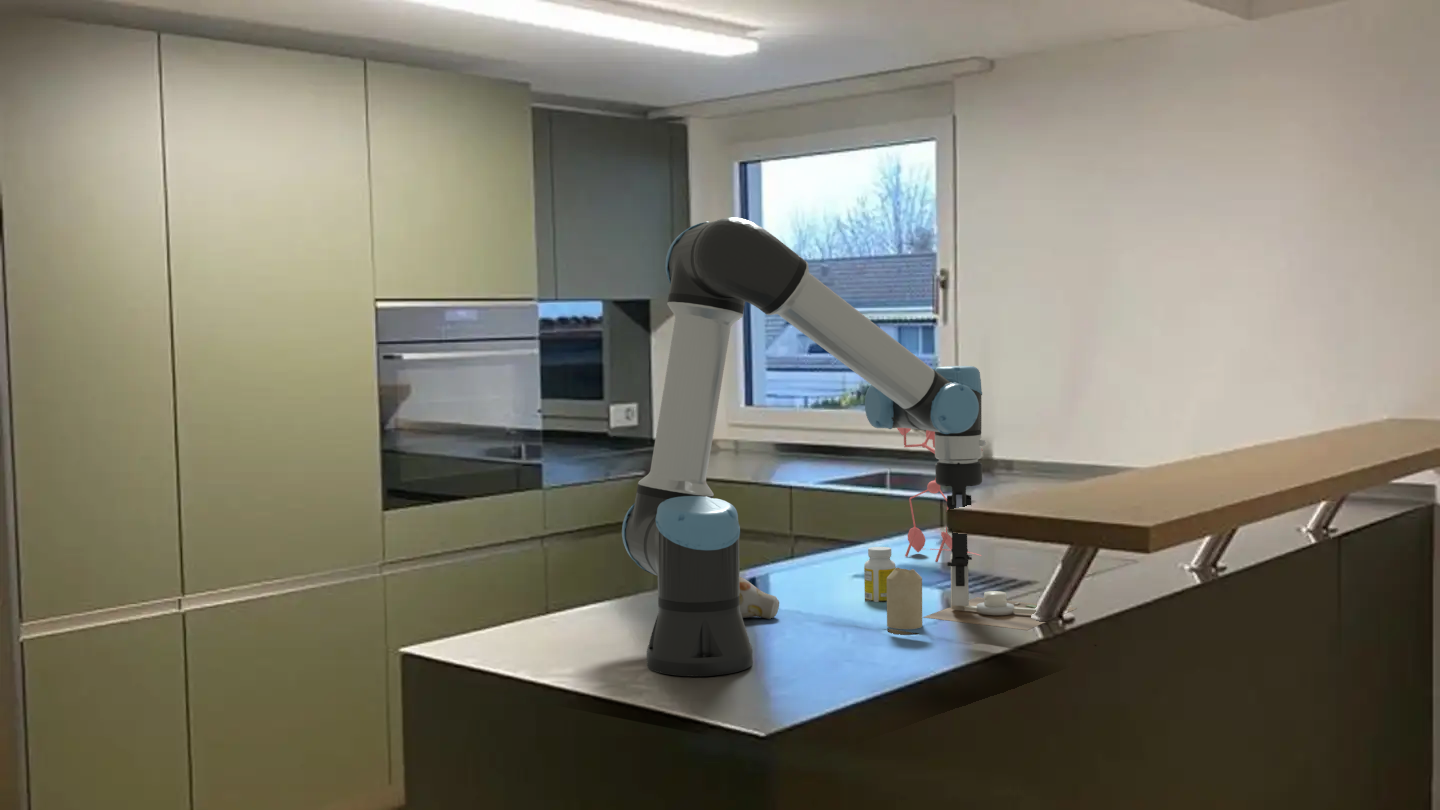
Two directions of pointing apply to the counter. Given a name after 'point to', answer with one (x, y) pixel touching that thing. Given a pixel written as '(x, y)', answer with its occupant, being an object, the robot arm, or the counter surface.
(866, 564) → the supplement bottle
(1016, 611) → the handle
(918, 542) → the figurine
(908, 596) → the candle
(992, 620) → the board
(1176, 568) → the counter surface
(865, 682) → the counter surface
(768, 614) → the mug
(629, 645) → the counter surface
